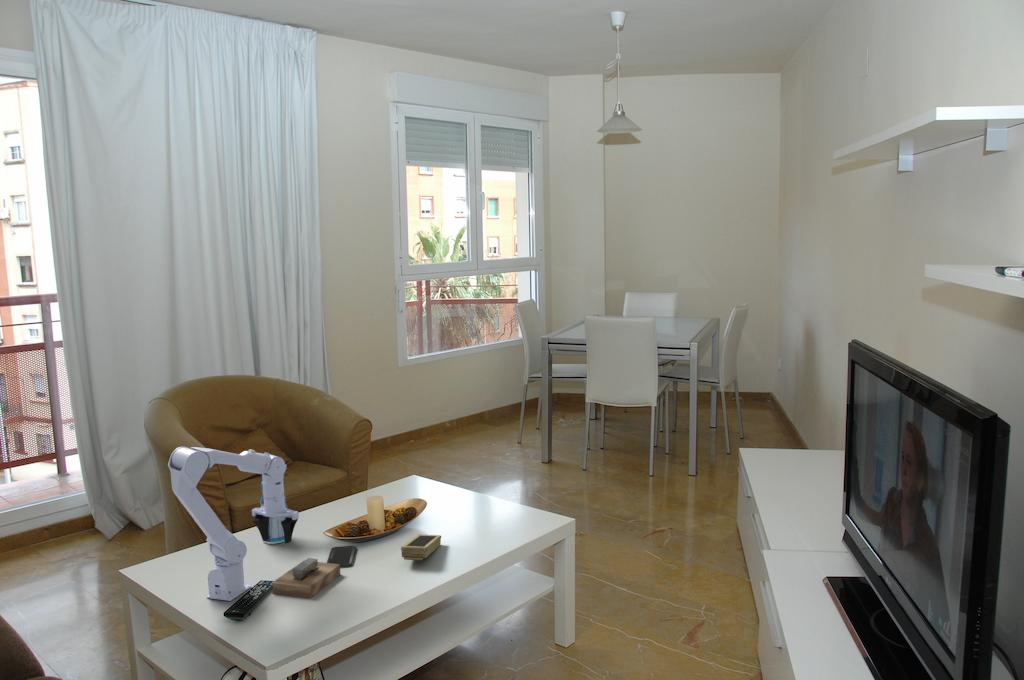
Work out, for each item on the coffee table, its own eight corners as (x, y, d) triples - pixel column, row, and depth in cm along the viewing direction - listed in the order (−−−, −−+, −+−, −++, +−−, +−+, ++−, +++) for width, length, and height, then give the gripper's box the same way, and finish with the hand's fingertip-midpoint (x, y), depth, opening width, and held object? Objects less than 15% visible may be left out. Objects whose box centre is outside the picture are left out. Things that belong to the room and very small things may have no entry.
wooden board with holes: (310, 598, 215) (309, 587, 214) (272, 593, 218) (271, 582, 218) (340, 574, 230) (339, 564, 229) (304, 570, 233) (303, 560, 233)
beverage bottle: (282, 545, 254) (278, 484, 251) (257, 544, 255) (253, 484, 253) (293, 535, 262) (289, 477, 260) (269, 534, 263) (265, 476, 261)
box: (400, 563, 233) (400, 546, 233) (418, 547, 255) (418, 531, 255) (427, 565, 232) (427, 547, 232) (443, 548, 254) (443, 532, 254)
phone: (356, 545, 250) (351, 564, 235) (357, 548, 250) (352, 567, 235) (331, 547, 249) (324, 566, 234) (331, 550, 249) (325, 569, 234)
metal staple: (303, 590, 219) (301, 570, 219) (293, 589, 220) (292, 568, 220) (318, 578, 227) (317, 558, 226) (309, 577, 228) (308, 557, 227)
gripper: (303, 493, 230) (306, 538, 232) (261, 490, 235) (264, 533, 236) (289, 501, 224) (292, 547, 225) (246, 497, 228) (249, 542, 230)
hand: (276, 541), depth 230 cm, fingers open, 7 cm apart
